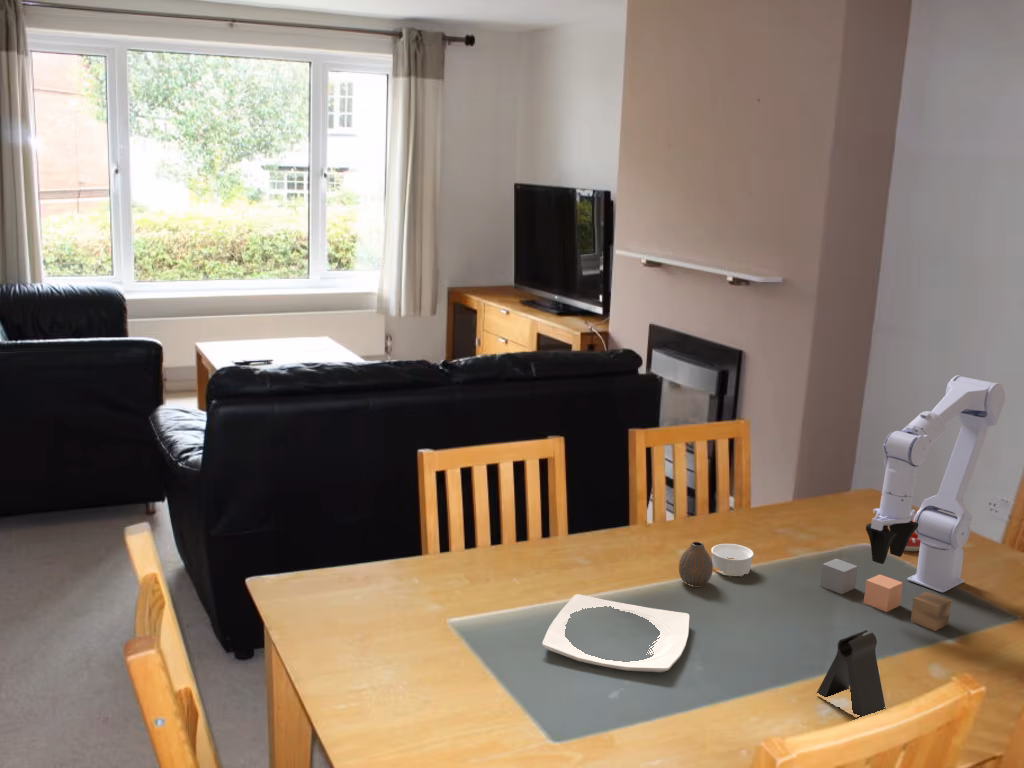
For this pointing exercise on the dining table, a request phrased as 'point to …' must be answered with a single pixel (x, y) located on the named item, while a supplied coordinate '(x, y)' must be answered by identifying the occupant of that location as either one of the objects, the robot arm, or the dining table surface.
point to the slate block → (838, 576)
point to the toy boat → (913, 542)
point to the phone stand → (856, 674)
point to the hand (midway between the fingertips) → (887, 558)
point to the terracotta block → (883, 593)
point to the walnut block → (930, 611)
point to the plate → (666, 622)
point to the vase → (695, 565)
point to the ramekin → (732, 566)
